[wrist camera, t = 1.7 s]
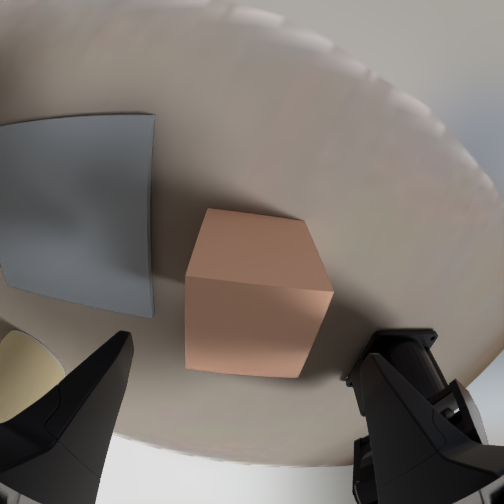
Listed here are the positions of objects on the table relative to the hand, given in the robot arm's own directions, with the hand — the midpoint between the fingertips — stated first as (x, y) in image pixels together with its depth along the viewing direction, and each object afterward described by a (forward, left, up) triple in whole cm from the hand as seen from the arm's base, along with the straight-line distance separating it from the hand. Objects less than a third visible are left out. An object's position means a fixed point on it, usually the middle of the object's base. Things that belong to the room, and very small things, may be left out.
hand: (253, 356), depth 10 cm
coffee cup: (+20, +15, -7) cm, 26 cm away
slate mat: (+12, -1, -7) cm, 14 cm away
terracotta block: (0, 0, -7) cm, 7 cm away
